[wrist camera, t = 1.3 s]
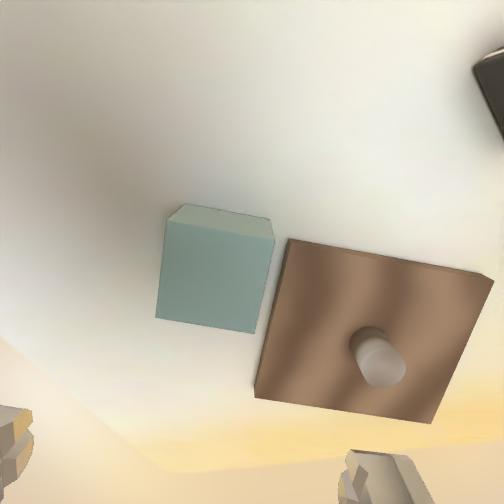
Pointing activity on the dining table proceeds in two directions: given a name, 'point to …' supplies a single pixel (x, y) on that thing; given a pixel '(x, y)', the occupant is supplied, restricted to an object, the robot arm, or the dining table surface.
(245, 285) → the sage green cube
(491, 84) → the battery charger
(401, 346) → the stub plate
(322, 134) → the dining table surface
